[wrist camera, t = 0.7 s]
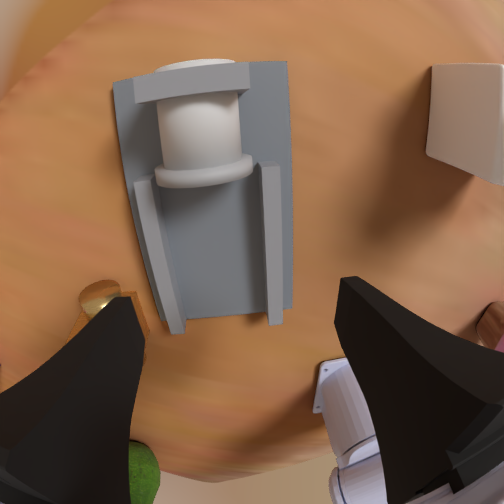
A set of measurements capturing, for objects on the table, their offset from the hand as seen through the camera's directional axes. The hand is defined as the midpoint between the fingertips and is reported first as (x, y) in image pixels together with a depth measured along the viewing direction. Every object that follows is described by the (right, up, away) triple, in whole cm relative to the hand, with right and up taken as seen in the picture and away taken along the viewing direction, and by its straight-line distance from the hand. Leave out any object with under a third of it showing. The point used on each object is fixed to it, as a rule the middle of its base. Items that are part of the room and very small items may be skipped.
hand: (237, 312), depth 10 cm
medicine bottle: (+16, +12, +7) cm, 22 cm away
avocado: (-16, -25, +23) cm, 37 cm away
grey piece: (-2, +5, +8) cm, 10 cm away
